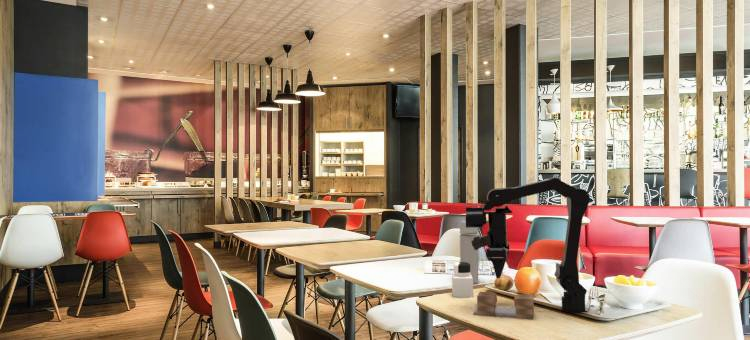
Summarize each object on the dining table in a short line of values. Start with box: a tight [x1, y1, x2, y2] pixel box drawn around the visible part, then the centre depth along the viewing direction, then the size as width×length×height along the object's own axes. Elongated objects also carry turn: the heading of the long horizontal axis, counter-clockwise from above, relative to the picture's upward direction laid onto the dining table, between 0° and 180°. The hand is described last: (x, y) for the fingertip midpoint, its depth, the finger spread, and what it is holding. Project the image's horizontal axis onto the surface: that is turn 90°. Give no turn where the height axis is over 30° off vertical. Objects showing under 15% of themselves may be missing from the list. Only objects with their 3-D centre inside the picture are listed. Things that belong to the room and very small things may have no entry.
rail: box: [472, 303, 535, 321], centre depth 159 cm, size 18×6×3 cm, turn 70°
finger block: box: [476, 291, 498, 317], centre depth 160 cm, size 5×6×6 cm
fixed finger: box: [513, 293, 535, 321], centre depth 157 cm, size 5×6×6 cm
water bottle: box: [459, 220, 484, 285], centre depth 209 cm, size 9×8×25 cm
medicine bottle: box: [451, 261, 474, 298], centre depth 188 cm, size 7×7×12 cm
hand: (499, 275), depth 166 cm, fingers open, 9 cm apart
